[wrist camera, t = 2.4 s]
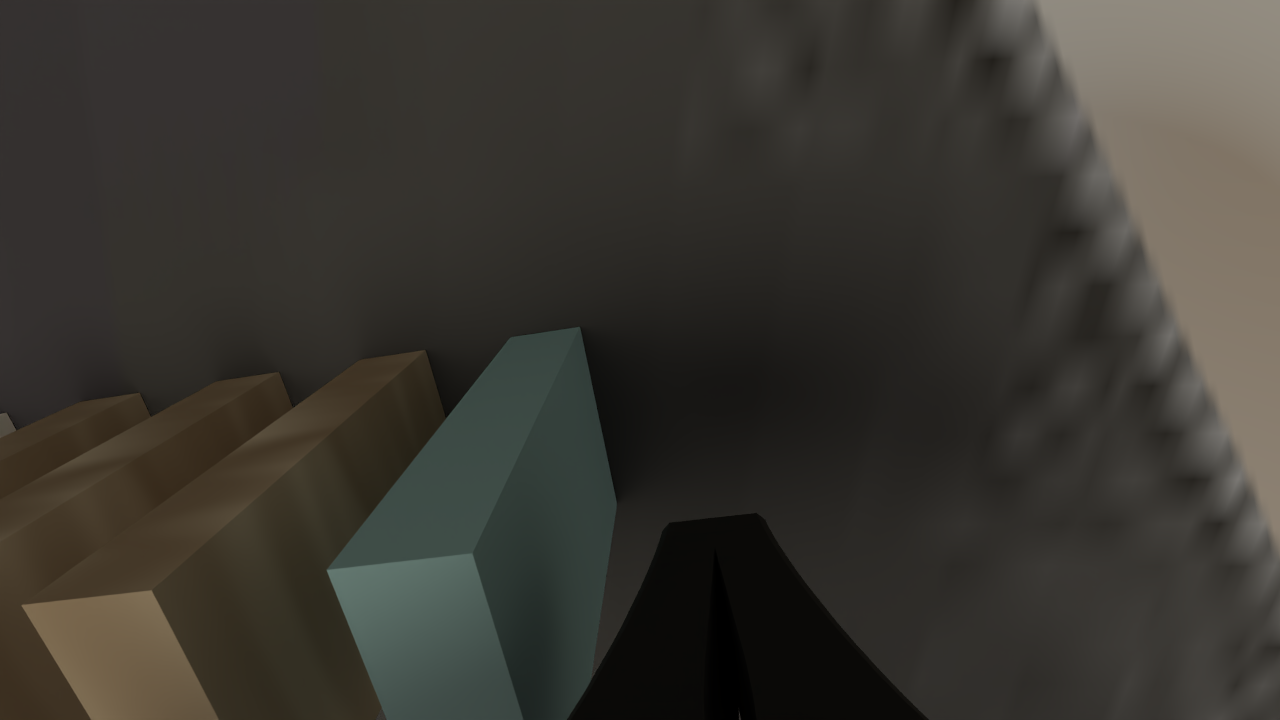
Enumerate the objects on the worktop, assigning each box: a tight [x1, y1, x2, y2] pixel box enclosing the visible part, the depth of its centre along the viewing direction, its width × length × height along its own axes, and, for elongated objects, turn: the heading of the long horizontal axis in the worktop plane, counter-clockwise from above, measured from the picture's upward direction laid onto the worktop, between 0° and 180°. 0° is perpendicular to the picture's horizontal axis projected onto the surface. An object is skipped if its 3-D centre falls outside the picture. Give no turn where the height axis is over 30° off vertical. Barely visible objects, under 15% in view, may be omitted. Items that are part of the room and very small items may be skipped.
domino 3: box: [327, 327, 617, 720], centre depth 11 cm, size 2×5×8 cm, turn 10°
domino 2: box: [21, 350, 446, 720], centre depth 11 cm, size 2×5×8 cm, turn 9°
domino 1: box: [0, 372, 293, 720], centre depth 12 cm, size 2×5×8 cm, turn 10°
